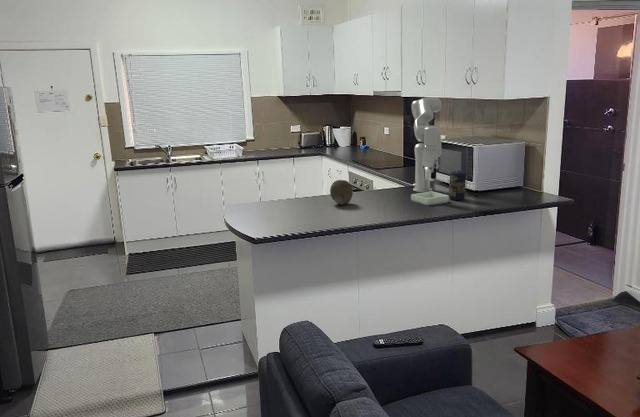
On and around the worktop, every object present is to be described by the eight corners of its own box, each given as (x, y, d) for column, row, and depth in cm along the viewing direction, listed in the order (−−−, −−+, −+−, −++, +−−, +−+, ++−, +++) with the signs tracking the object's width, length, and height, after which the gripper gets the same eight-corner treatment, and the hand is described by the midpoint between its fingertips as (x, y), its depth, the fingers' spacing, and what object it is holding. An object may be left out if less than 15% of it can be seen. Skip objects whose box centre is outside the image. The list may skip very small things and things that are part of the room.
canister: (445, 199, 320) (446, 170, 316) (455, 197, 326) (456, 168, 322) (458, 201, 313) (459, 172, 309) (468, 199, 319) (469, 170, 314)
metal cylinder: (422, 180, 315) (423, 166, 313) (430, 179, 317) (431, 166, 315) (429, 181, 309) (429, 168, 308) (437, 180, 312) (437, 167, 310)
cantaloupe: (357, 203, 318) (357, 179, 315) (345, 207, 307) (344, 183, 304) (337, 200, 326) (337, 177, 323) (325, 205, 315) (324, 181, 311)
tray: (411, 200, 320) (411, 194, 319) (431, 197, 327) (431, 191, 326) (427, 205, 306) (427, 199, 305) (448, 202, 313) (448, 195, 312)
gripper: (416, 147, 315) (416, 176, 319) (434, 149, 300) (434, 180, 304) (426, 146, 318) (426, 175, 322) (445, 148, 303) (444, 179, 307)
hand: (430, 177), depth 313 cm, fingers closed on metal cylinder, 6 cm apart
